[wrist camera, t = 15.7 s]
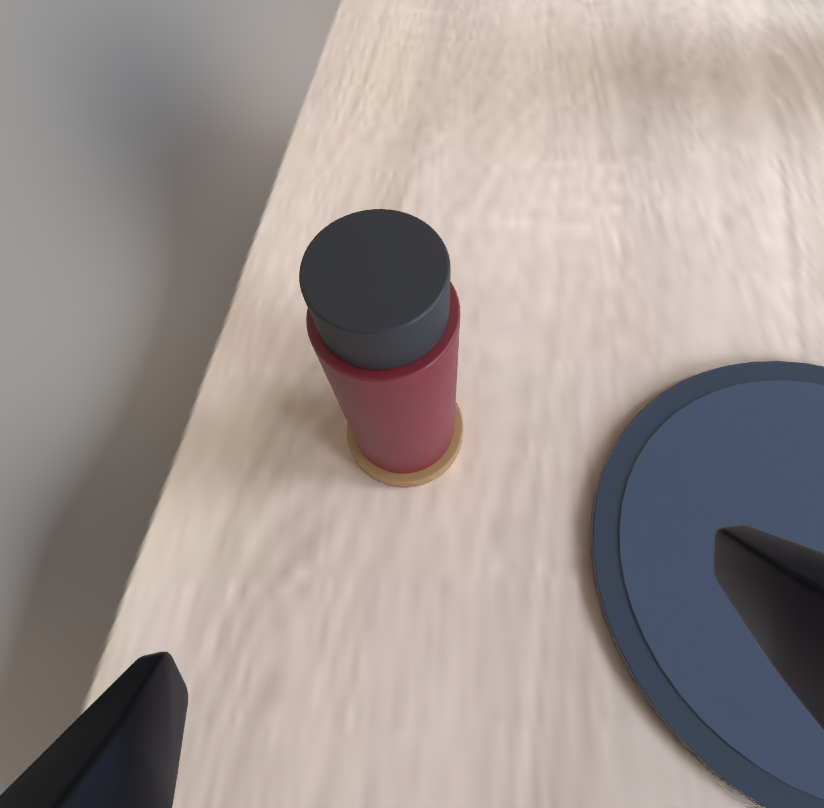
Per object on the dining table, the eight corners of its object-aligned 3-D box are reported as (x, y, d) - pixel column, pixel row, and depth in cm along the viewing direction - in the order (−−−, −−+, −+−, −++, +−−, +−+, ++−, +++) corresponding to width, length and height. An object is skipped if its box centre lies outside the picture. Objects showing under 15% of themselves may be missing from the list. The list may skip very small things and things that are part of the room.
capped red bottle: (441, 503, 23) (439, 386, 12) (331, 466, 24) (234, 324, 13) (476, 399, 24) (504, 212, 13) (373, 368, 25) (320, 170, 14)
